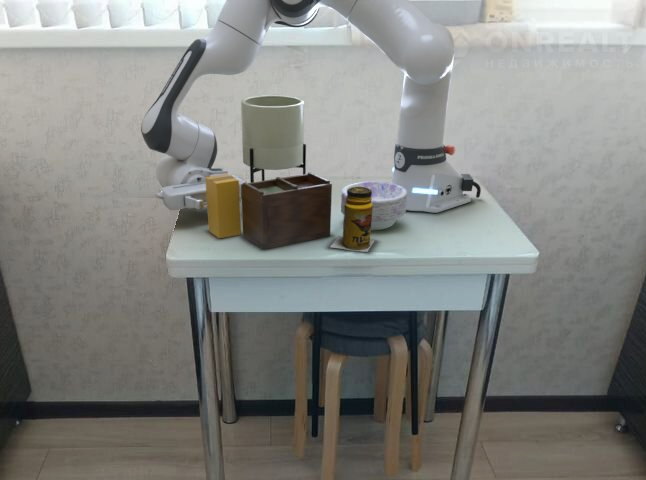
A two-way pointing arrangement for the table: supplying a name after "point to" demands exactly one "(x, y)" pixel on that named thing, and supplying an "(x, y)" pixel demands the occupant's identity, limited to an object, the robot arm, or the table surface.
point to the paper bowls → (382, 202)
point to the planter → (273, 133)
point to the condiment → (356, 221)
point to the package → (223, 205)
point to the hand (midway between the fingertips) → (219, 202)
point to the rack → (286, 210)
